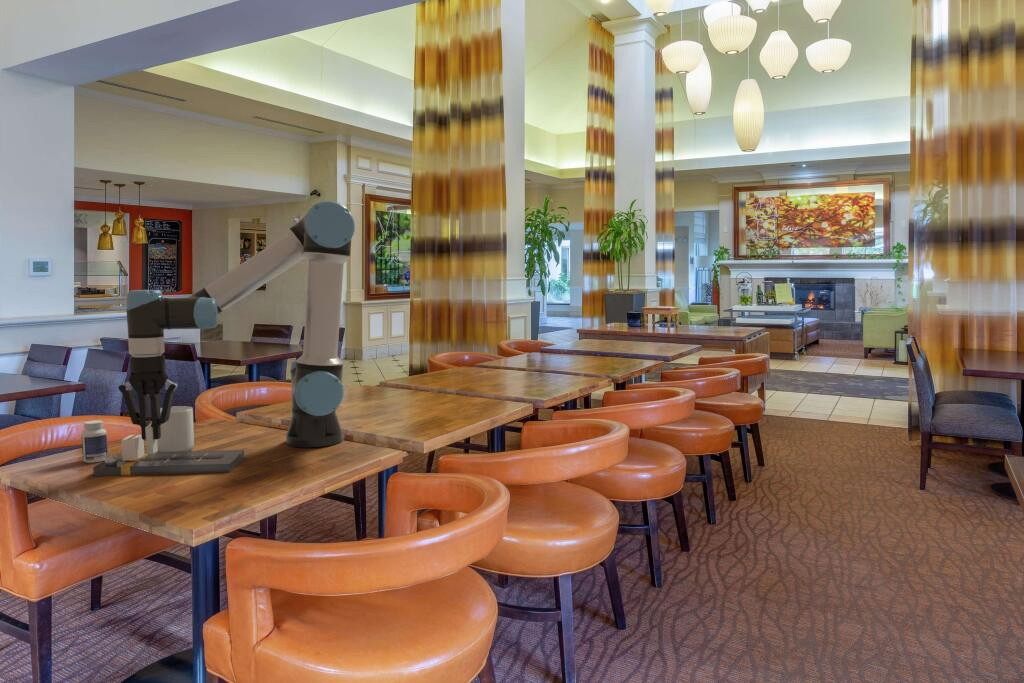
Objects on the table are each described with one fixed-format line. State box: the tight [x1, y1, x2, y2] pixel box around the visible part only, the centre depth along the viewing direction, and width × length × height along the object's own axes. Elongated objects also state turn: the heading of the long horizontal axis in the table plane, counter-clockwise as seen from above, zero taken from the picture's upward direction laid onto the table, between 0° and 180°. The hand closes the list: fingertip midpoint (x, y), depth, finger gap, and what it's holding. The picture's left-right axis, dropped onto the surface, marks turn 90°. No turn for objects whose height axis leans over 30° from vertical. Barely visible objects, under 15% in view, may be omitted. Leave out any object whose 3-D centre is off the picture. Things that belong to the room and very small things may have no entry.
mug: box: [157, 405, 195, 452], centre depth 181 cm, size 12×9×11 cm
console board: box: [92, 449, 245, 477], centre depth 165 cm, size 30×13×4 cm, turn 97°
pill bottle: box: [80, 420, 109, 464], centre depth 170 cm, size 5×5×10 cm
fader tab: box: [120, 434, 145, 461], centre depth 164 cm, size 3×5×5 cm, turn 7°
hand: (152, 452), depth 165 cm, fingers closed
